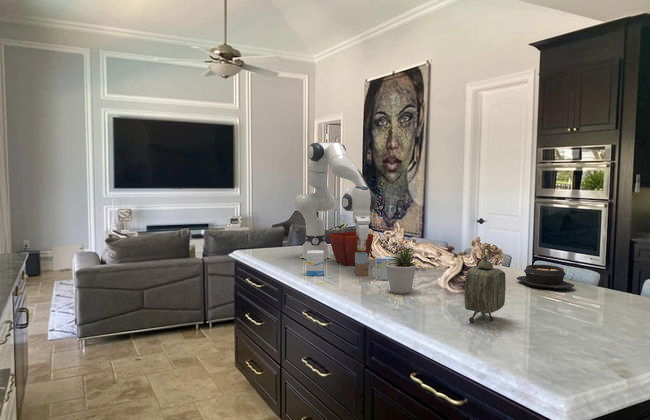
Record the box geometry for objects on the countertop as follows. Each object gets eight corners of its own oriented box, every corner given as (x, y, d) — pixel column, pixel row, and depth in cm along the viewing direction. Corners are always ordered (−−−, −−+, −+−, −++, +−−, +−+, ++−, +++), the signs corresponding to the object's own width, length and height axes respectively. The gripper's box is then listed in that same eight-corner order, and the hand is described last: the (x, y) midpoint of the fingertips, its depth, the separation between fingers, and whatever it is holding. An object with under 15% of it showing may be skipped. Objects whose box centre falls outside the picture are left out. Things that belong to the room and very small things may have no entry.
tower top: (355, 262, 240) (355, 252, 239) (364, 261, 241) (364, 252, 240) (357, 264, 235) (357, 254, 234) (367, 263, 236) (367, 253, 235)
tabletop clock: (480, 313, 172) (481, 244, 170) (505, 317, 166) (507, 246, 164) (463, 322, 160) (465, 249, 159) (490, 328, 155) (492, 251, 153)
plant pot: (328, 262, 274) (328, 232, 272) (357, 259, 282) (357, 231, 280) (343, 267, 256) (343, 236, 255) (374, 264, 264) (374, 234, 263)
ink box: (323, 276, 236) (323, 252, 235) (306, 276, 236) (306, 252, 235) (324, 272, 244) (324, 250, 243) (307, 272, 244) (307, 250, 243)
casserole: (506, 282, 219) (507, 264, 219) (533, 278, 228) (534, 261, 228) (556, 294, 197) (556, 274, 197) (583, 289, 206) (584, 270, 206)
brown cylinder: (356, 249, 239) (356, 239, 239) (365, 249, 239) (365, 239, 239) (357, 250, 235) (357, 240, 235) (366, 250, 235) (366, 240, 235)
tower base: (355, 273, 241) (355, 262, 241) (366, 273, 241) (366, 261, 241) (356, 276, 235) (356, 264, 235) (368, 276, 235) (368, 264, 235)
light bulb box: (397, 277, 231) (397, 255, 230) (398, 280, 225) (398, 258, 224) (375, 277, 232) (375, 255, 231) (375, 280, 226) (375, 257, 225)
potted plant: (418, 295, 196) (419, 247, 195) (384, 294, 199) (385, 246, 197) (418, 288, 208) (419, 243, 207) (387, 287, 211) (387, 242, 210)
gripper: (353, 217, 246) (353, 243, 247) (357, 221, 226) (357, 249, 227) (365, 217, 247) (365, 243, 248) (370, 220, 226) (370, 249, 227)
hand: (361, 246), depth 237 cm, fingers closed on brown cylinder, 4 cm apart
